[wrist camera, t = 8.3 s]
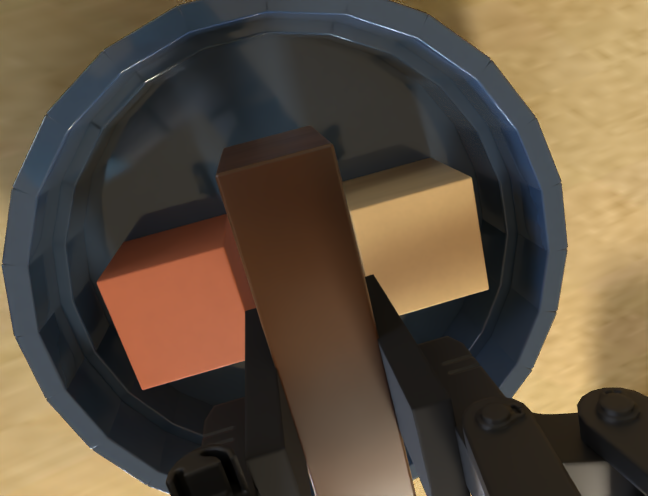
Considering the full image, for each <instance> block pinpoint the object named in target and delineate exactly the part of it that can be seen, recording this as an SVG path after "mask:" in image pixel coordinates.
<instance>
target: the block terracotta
mask: <svg viewBox="0 0 648 496" xmlns="http://www.w3.org/2000/svg"><path fill="white" fill-rule="evenodd" d="M97 285H98V288H99V290H100V292H101V295H102V297H103V299H104V302H105V304H106V306H107V309H108V311H109V314H110V316H111V318H112V321H113V323H114V325H115V328H116V330H117V332H118V335H119V337H120V339H121V342H122V344H123V346H124V349H125V351H126V353H127V356H128V358H129V361H130V363H131V365H132V368H133V370H134V372H135V375H136V377H137V379H138V382H139V384H140V386H141V389H142V390H145V389H148V388H152V387H155V386H159V385H162V384H166V383H169V382H172V381H176V380H179V379H183V378H186V377H190V376H193V375H197V374H200V373H203V372H207V371H210V370H214V369H217V368H221V367H224V366H227V365H231V364H234V363H238V362H241V361H245V311H247V310H250V309H254V308H256V306H255V302H254V299H253V296H252V293H251V290H250V287H249V283H248V280H247V277H246V274H245V271H244V268H243V264H242V261H241V258H240V255H239V252H238V248H237V245H236V242H235V239H234V236H233V233H232V229H231V226H230V223H229V220H228V217H227V214H224V215H220V216H217V217H213V218H210V219H206V220H202V221H199V222H195V223H192V224H188V225H184V226H181V227H177V228H173V229H170V230H166V231H163V232H159V233H155V234H152V235H148V236H144V237H141V238H137V239H134V240H130V241H126V242H124V243H123V244H122V245H121V247H120V248H119V249H118V251H117V252H116V254H115V255H114V257H113V258H112V260H111V261H110V263H109V264H108V266H107V267H106V269H105V270H104V272H103V273H102V274H101V276H100V277H99V279H98V280H97Z"/></svg>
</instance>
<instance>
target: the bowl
mask: <svg viewBox="0 0 648 496" xmlns="http://www.w3.org/2000/svg"><path fill="white" fill-rule="evenodd" d="M305 126H312V127H313V128H314V129H315V130H317V131H318V132H319V133H320V134H321V135H322V136H324V137H325V138H326V139H327V140H328V141H329V142H331V143H332V144H333V146H334V149H335V153H336V157H337V161H338V166H339V170H340V174H341V178H342V182H344V181H347V180H351V179H354V178H358V177H362V176H365V175H369V174H373V173H376V172H380V171H383V170H387V169H391V168H394V167H398V166H401V165H405V164H409V163H412V162H416V161H420V160H423V159H427V158H433V159H435V160H437V161H439V162H441V163H443V164H445V165H447V166H449V167H451V168H453V169H456V170H458V171H460V172H462V173H464V174H466V175H468V176H470V177H471V178H472V182H473V189H474V195H475V201H476V208H477V214H478V221H479V227H480V234H481V240H482V247H483V253H484V259H485V266H486V272H487V279H488V285H489V289H488V290H485V291H482V292H478V293H475V294H472V295H468V296H465V297H461V298H458V299H454V300H451V301H447V302H444V303H441V304H437V305H434V306H430V307H427V308H423V309H420V310H417V311H413V312H410V313H406V314H403V315H399V316H400V318H401V319H402V321H403V322H404V324H405V326H406V327H407V329H408V330H409V332H410V334H411V335H412V337H413V338H414V340H415V342H416V343H417V344H421V343H424V342H427V341H431V340H434V339H438V338H441V337H444V336H449V337H451V338H453V339H455V340H458V341H460V342H462V343H463V344H464V345H465V346H466V348H467V349H468V350H469V351H470V353H471V354H472V356H474V358H475V359H476V360H477V361H478V363H479V365H480V366H482V368H483V369H484V370H485V371H486V373H487V374H488V375H489V377H490V378H491V379H492V380H493V382H494V383H495V384H496V385H497V387H498V388H499V389H500V390H501V392H502V393H503V394H504V395H505V397H506V398H512V397H513V395H514V394H515V393H516V391H517V390H518V389H519V387H520V386H521V385H522V383H523V382H524V381H525V379H526V378H527V377H528V375H529V374H530V373H531V371H532V368H533V367H534V365H535V362H536V360H537V358H538V355H539V353H540V351H541V348H542V346H543V344H544V341H545V339H546V337H547V334H548V332H549V330H550V328H551V325H552V323H553V321H554V318H555V316H556V311H557V310H558V304H559V298H560V292H561V286H562V280H563V274H564V268H565V262H566V256H567V247H568V244H567V233H566V223H565V213H564V203H563V192H562V184H561V179H560V176H559V174H558V171H557V169H556V166H555V164H554V161H553V158H552V156H551V153H550V151H549V148H548V146H547V143H546V140H545V138H544V135H543V133H542V130H541V128H540V125H539V123H538V120H537V118H535V115H534V114H533V113H532V111H531V110H530V109H529V107H528V106H527V105H526V103H525V102H524V101H523V100H522V98H521V97H520V96H519V94H518V93H517V92H516V91H515V89H514V88H513V87H512V85H511V84H510V83H509V82H508V80H507V79H506V78H505V76H504V75H503V74H502V72H501V71H500V70H499V69H498V67H497V66H496V65H495V63H494V62H493V61H492V60H490V58H489V57H488V56H487V55H485V54H484V53H482V52H481V51H480V50H478V49H477V48H475V47H474V46H473V45H471V44H470V43H468V42H467V41H466V40H464V39H463V38H462V37H460V36H459V35H457V34H456V33H455V32H453V31H452V30H450V29H449V28H448V27H446V26H445V25H443V24H442V23H441V22H439V21H438V20H436V19H435V18H434V17H432V16H431V15H429V14H427V13H425V12H422V11H419V10H416V9H414V8H411V7H408V6H405V5H402V4H399V3H396V2H393V1H390V0H195V1H191V2H187V3H183V4H180V5H179V6H175V7H174V8H172V9H170V10H169V11H167V12H165V13H164V14H162V15H160V16H159V17H157V18H155V19H154V20H152V21H150V22H149V23H147V24H145V25H144V26H142V27H140V28H139V29H137V30H135V31H134V32H132V33H130V34H129V35H127V36H125V37H124V38H122V39H120V40H119V41H117V42H115V43H114V44H112V45H110V46H109V47H107V48H105V49H104V51H102V52H101V53H100V54H99V55H98V56H97V57H96V58H95V59H94V60H93V61H92V63H91V64H90V65H89V66H88V67H87V68H86V69H85V70H84V71H83V73H82V74H81V75H80V76H79V77H78V78H77V79H76V80H75V81H74V82H73V84H72V85H71V86H70V87H69V88H68V89H67V90H66V91H65V92H64V94H63V95H62V96H61V97H60V98H59V99H58V100H57V101H56V102H55V104H54V105H53V106H52V107H51V108H50V109H49V110H48V111H47V114H46V115H45V116H44V118H43V121H42V123H41V125H40V127H39V129H38V131H37V134H36V136H35V138H34V140H33V142H32V144H31V146H30V149H29V151H28V153H27V155H26V157H25V159H24V162H23V164H22V166H21V168H20V170H19V172H18V175H17V177H16V179H15V181H14V183H13V188H12V190H11V197H10V205H9V212H8V220H7V228H6V236H5V244H4V251H3V259H2V263H3V264H2V270H3V275H4V281H5V287H6V292H7V298H8V304H9V310H10V315H11V321H12V327H13V332H14V336H16V340H17V342H18V344H19V346H20V348H21V350H22V352H23V354H24V356H25V358H26V360H27V362H28V364H29V366H30V368H31V370H32V372H33V374H34V376H35V378H36V380H37V382H38V384H39V386H40V388H41V390H42V392H43V394H44V396H45V398H47V401H48V402H49V403H50V405H51V406H52V407H53V408H54V409H55V410H56V411H57V412H58V413H59V414H60V416H61V417H62V418H63V419H64V420H65V421H66V422H67V423H68V424H69V425H70V427H71V428H72V429H73V430H74V431H75V432H76V433H77V434H78V435H79V436H80V438H81V439H82V440H83V441H84V442H85V443H86V444H87V445H88V446H89V447H90V449H93V451H95V452H96V453H98V454H99V455H101V456H102V457H104V458H106V459H107V460H109V461H110V462H112V463H113V464H115V465H116V466H118V467H119V468H121V469H122V470H124V471H125V472H127V473H128V474H130V475H132V476H133V477H135V478H136V479H138V480H139V481H141V482H142V483H144V484H145V485H147V484H148V486H149V487H152V488H154V489H157V490H160V491H163V492H166V493H169V494H170V492H169V490H168V488H167V486H166V479H167V476H168V473H169V471H170V470H171V469H172V467H173V466H174V464H175V463H176V462H177V461H178V460H180V459H181V458H182V457H183V456H185V455H186V454H187V453H189V452H191V451H193V450H195V449H197V448H199V447H201V444H202V438H203V436H202V435H203V427H204V421H205V419H206V417H207V416H208V414H209V413H210V411H211V410H212V408H213V406H215V405H218V404H222V403H225V402H229V401H232V400H235V399H239V398H242V397H245V361H241V362H238V363H234V364H231V365H227V366H224V367H221V368H217V369H214V370H210V371H207V372H203V373H200V374H197V375H193V376H190V377H186V378H183V379H179V380H176V381H172V382H169V383H166V384H162V385H159V386H155V387H152V388H148V389H145V390H142V389H141V386H140V384H139V382H138V379H137V377H136V375H135V372H134V370H133V368H132V365H131V363H130V361H129V358H128V356H127V353H126V351H125V349H124V346H123V344H122V342H121V339H120V337H119V335H118V332H117V330H116V328H115V325H114V323H113V321H112V318H111V316H110V314H109V311H108V309H107V306H106V304H105V302H104V299H103V297H102V295H101V292H100V290H99V288H98V285H97V280H98V279H99V277H100V276H101V274H102V273H103V272H104V270H105V269H106V267H107V266H108V264H109V263H110V261H111V260H112V258H113V257H114V255H115V254H116V252H117V251H118V249H119V248H120V247H121V245H122V244H123V243H124V242H126V241H130V240H134V239H137V238H141V237H144V236H148V235H152V234H155V233H159V232H163V231H166V230H170V229H173V228H177V227H181V226H184V225H188V224H192V223H195V222H199V221H202V220H206V219H210V218H213V217H217V216H220V215H224V214H227V213H226V210H225V207H224V204H223V201H222V198H221V194H220V191H219V188H218V185H217V182H216V178H215V176H216V172H217V168H218V165H219V162H220V158H221V155H222V151H223V149H224V148H226V147H230V146H234V145H237V144H241V143H245V142H249V141H253V140H256V139H260V138H264V137H268V136H271V135H275V134H279V133H283V132H287V131H290V130H294V129H298V128H302V127H305ZM403 442H404V441H403ZM404 446H405V450H406V454H407V459H408V463H409V467H410V471H411V476H412V480H414V479H416V478H418V477H419V476H418V474H417V471H416V469H415V467H414V464H413V462H412V459H411V457H410V455H409V452H408V450H407V448H406V445H405V443H404ZM308 475H309V474H308ZM309 482H310V488H311V495H312V496H315V493H314V490H313V487H312V484H311V481H310V477H309Z"/></svg>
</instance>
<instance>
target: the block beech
mask: <svg viewBox="0 0 648 496" xmlns="http://www.w3.org/2000/svg"><path fill="white" fill-rule="evenodd" d="M342 183H343V187H344V191H345V195H346V200H347V204H348V208H349V212H350V217H351V221H352V225H353V229H354V234H355V238H356V242H357V246H358V251H359V255H360V259H361V263H362V268H363V272H364V276H369V275H372V274H374V276H375V277H376V279H377V281H378V282H379V284H380V286H381V287H382V289H383V290H384V292H385V294H386V295H387V297H388V298H389V300H390V302H391V303H392V305H393V306H394V308H395V310H396V311H397V313H398V314H399V315H403V314H406V313H410V312H413V311H417V310H420V309H423V308H427V307H430V306H434V305H437V304H441V303H444V302H447V301H451V300H454V299H458V298H461V297H465V296H468V295H472V294H475V293H478V292H482V291H485V290H488V289H489V285H488V279H487V272H486V266H485V259H484V253H483V247H482V240H481V234H480V227H479V221H478V214H477V208H476V201H475V195H474V189H473V182H472V178H471V177H470V176H468V175H466V174H464V173H462V172H460V171H458V170H456V169H453V168H451V167H449V166H447V165H445V164H443V163H441V162H439V161H437V160H435V159H433V158H427V159H423V160H420V161H416V162H412V163H409V164H405V165H401V166H398V167H394V168H391V169H387V170H383V171H380V172H376V173H373V174H369V175H365V176H362V177H358V178H354V179H351V180H347V181H344V182H342Z"/></svg>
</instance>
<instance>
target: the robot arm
mask: <svg viewBox="0 0 648 496" xmlns="http://www.w3.org/2000/svg"><path fill="white" fill-rule="evenodd" d="M365 280H366V285H367V289H368V293H369V297H370V302H371V306H372V310H373V314H374V319H375V323H376V327H377V331H378V336H379V338H378V339H377V340H378V344H379V348H380V352H381V356H382V360H383V364H384V368H385V373H386V377H387V381H388V385H389V389H390V393H391V397H392V401H393V405H394V410H395V414H396V418H397V422H398V426H399V430H400V434H401V436H402V438H403V441H404V443H405V445H406V448H407V450H408V452H409V455H410V457H411V459H412V462H413V464H414V467H415V469H416V471H417V474H418V476H419V478H420V481H421V483H422V485H423V488H424V490H425V492H426V495H427V496H470V493H471V495H472V496H648V397H647V396H645V395H643V394H641V393H639V392H636V391H633V390H629V389H624V388H602V389H597V390H593V391H591V392H589V393H587V394H586V395H584V396H583V397H582V398H581V399H580V401H579V403H578V404H577V408H578V413H568V414H537V413H532V412H531V411H530V410H529V409H528V408H527V407H526V406H525V405H524V404H523V403H521V402H519V401H517V400H515V399H513V398H506V397H505V395H504V394H503V393H502V392H501V390H500V389H499V388H498V387H497V385H496V384H495V383H494V382H493V380H492V379H491V378H490V377H489V375H488V374H487V373H486V371H485V370H484V369H483V368H482V366H480V365H479V363H478V361H477V360H476V359H475V358H474V356H472V354H471V353H470V351H469V350H468V349H467V348H466V346H465V345H464V344H463V343H462V342H460V341H458V340H455V339H453V338H451V337H449V336H444V337H441V338H438V339H434V340H431V341H427V342H424V343H421V344H417V343H416V342H415V340H414V338H413V337H412V335H411V334H410V332H409V330H408V329H407V327H406V326H405V324H404V322H403V321H402V319H401V318H400V316H399V314H398V313H397V311H396V310H395V308H394V306H393V305H392V303H391V302H390V300H389V298H388V297H387V295H386V294H385V292H384V290H383V289H382V287H381V286H380V284H379V282H378V281H377V279H376V277H375V276H374V274H372V275H369V276H365ZM202 436H203V438H202V444H201V447H199V448H197V449H195V450H193V451H191V452H189V453H187V454H186V455H185V456H183V457H182V458H181V459H180V460H178V461H177V462H176V463H175V464H174V466H173V467H172V469H171V470H170V471H169V473H168V476H167V479H166V486H167V488H168V490H169V492H170V495H171V496H312V495H311V488H310V482H309V475H308V469H307V463H306V459H305V456H304V453H303V449H302V446H301V443H300V440H299V437H298V434H297V431H296V428H295V424H294V421H293V418H292V415H291V412H290V409H289V406H288V403H287V399H286V396H285V393H284V390H283V387H282V384H281V381H280V378H279V374H278V371H277V368H275V366H274V363H273V360H272V357H271V353H270V350H269V347H268V344H267V341H266V337H265V334H264V331H263V328H262V325H261V322H260V318H259V315H258V312H257V309H256V308H254V309H250V310H247V311H245V397H242V398H239V399H235V400H232V401H229V402H225V403H222V404H218V405H215V406H213V408H212V410H211V411H210V413H209V414H208V416H207V417H206V419H205V421H204V427H203V435H202Z"/></svg>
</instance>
